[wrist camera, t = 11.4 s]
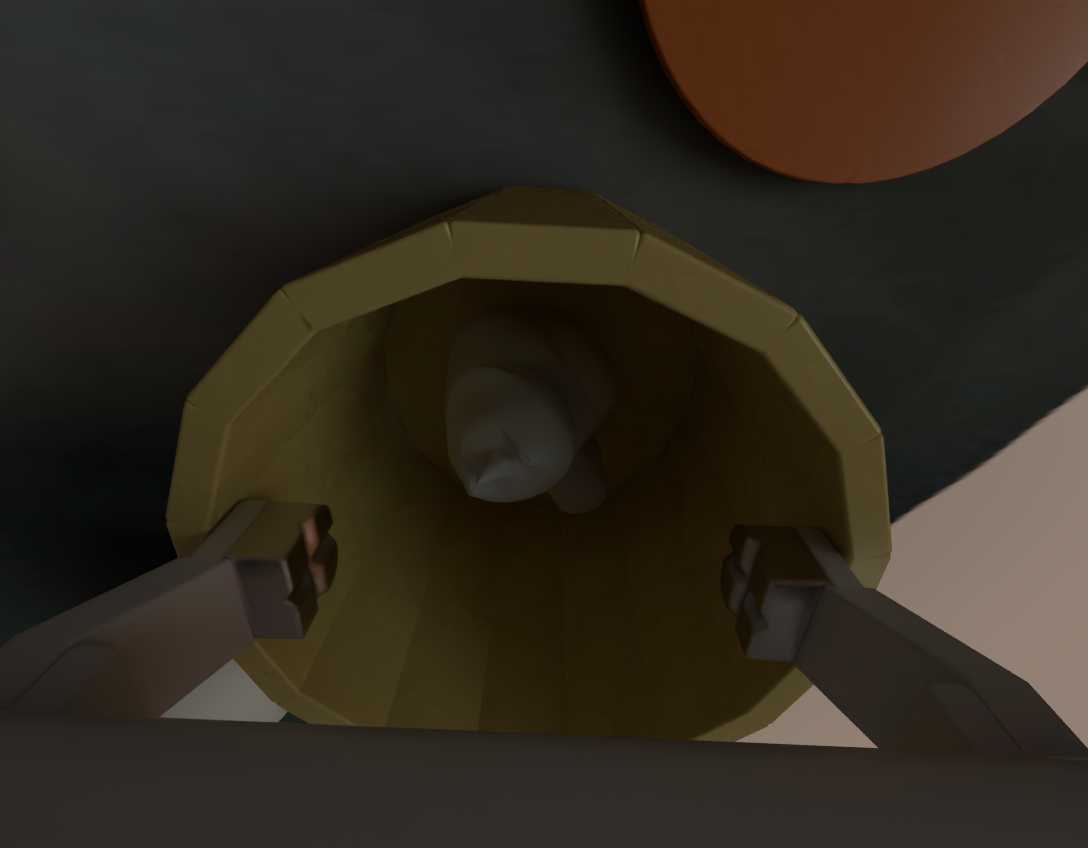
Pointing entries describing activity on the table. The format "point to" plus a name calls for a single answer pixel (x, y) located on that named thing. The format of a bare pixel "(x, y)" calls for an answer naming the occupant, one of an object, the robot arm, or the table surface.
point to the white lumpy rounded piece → (529, 408)
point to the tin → (538, 522)
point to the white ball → (227, 699)
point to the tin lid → (864, 76)
